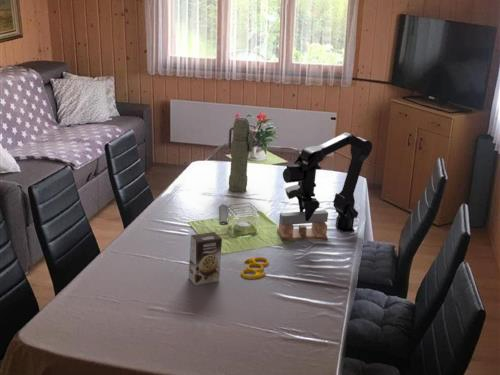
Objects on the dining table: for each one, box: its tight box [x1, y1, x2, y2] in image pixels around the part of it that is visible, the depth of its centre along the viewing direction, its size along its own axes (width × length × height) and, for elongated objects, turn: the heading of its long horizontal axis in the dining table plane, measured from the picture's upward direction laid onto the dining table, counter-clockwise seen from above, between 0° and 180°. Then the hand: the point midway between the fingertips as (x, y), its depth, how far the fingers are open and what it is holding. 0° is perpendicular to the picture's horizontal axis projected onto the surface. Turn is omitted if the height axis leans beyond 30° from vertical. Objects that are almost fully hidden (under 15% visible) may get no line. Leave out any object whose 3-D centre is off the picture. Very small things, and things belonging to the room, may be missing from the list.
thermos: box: [227, 117, 254, 194], centre depth 288 cm, size 9×12×35 cm
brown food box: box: [188, 231, 223, 286], centre depth 205 cm, size 9×6×16 cm
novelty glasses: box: [240, 256, 270, 280], centre depth 217 cm, size 17×2×10 cm
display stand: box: [276, 222, 329, 242], centre depth 246 cm, size 19×9×6 cm, turn 100°
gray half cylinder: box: [218, 203, 229, 225], centre depth 262 cm, size 4×20×2 cm, turn 3°
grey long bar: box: [278, 209, 329, 226], centre depth 245 cm, size 20×3×4 cm, turn 109°
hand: (304, 216), depth 245 cm, fingers open, 9 cm apart
